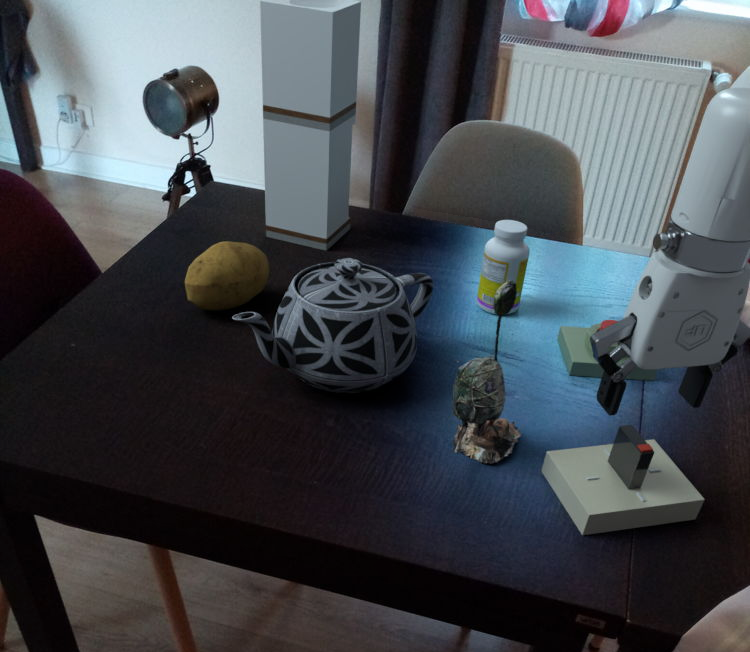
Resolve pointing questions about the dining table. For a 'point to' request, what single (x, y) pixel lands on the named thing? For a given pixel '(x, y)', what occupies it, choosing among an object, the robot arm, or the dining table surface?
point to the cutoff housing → (590, 354)
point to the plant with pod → (485, 398)
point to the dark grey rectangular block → (630, 456)
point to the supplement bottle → (503, 263)
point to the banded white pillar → (308, 117)
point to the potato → (226, 276)
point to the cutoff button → (607, 323)
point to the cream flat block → (619, 490)
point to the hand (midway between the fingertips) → (647, 404)
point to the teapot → (344, 326)
